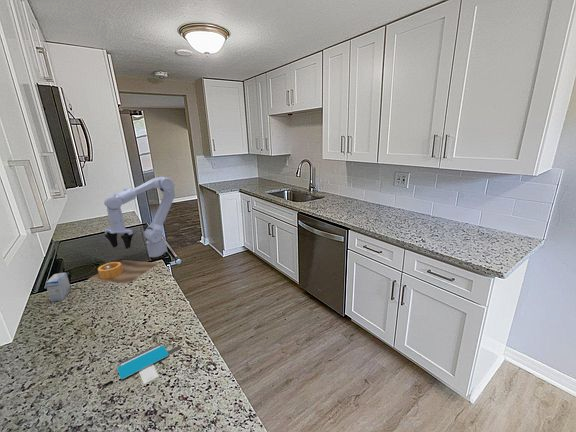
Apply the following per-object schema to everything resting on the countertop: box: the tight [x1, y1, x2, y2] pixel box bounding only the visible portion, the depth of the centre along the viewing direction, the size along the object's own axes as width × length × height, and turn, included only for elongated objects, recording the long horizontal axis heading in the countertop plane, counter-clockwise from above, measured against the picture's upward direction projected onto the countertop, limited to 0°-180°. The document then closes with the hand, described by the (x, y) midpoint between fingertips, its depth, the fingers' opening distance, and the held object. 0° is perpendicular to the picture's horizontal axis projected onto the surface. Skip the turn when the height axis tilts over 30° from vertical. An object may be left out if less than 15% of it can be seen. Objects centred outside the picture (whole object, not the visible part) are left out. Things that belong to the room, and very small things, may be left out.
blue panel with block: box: [117, 343, 182, 385], centre depth 74 cm, size 20×12×2 cm, turn 131°
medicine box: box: [45, 272, 72, 302], centre depth 109 cm, size 8×4×9 cm, turn 21°
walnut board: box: [87, 259, 160, 284], centre depth 127 cm, size 20×22×2 cm
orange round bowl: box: [97, 261, 123, 279], centre depth 123 cm, size 9×9×4 cm
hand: (121, 247), depth 132 cm, fingers open, 7 cm apart
